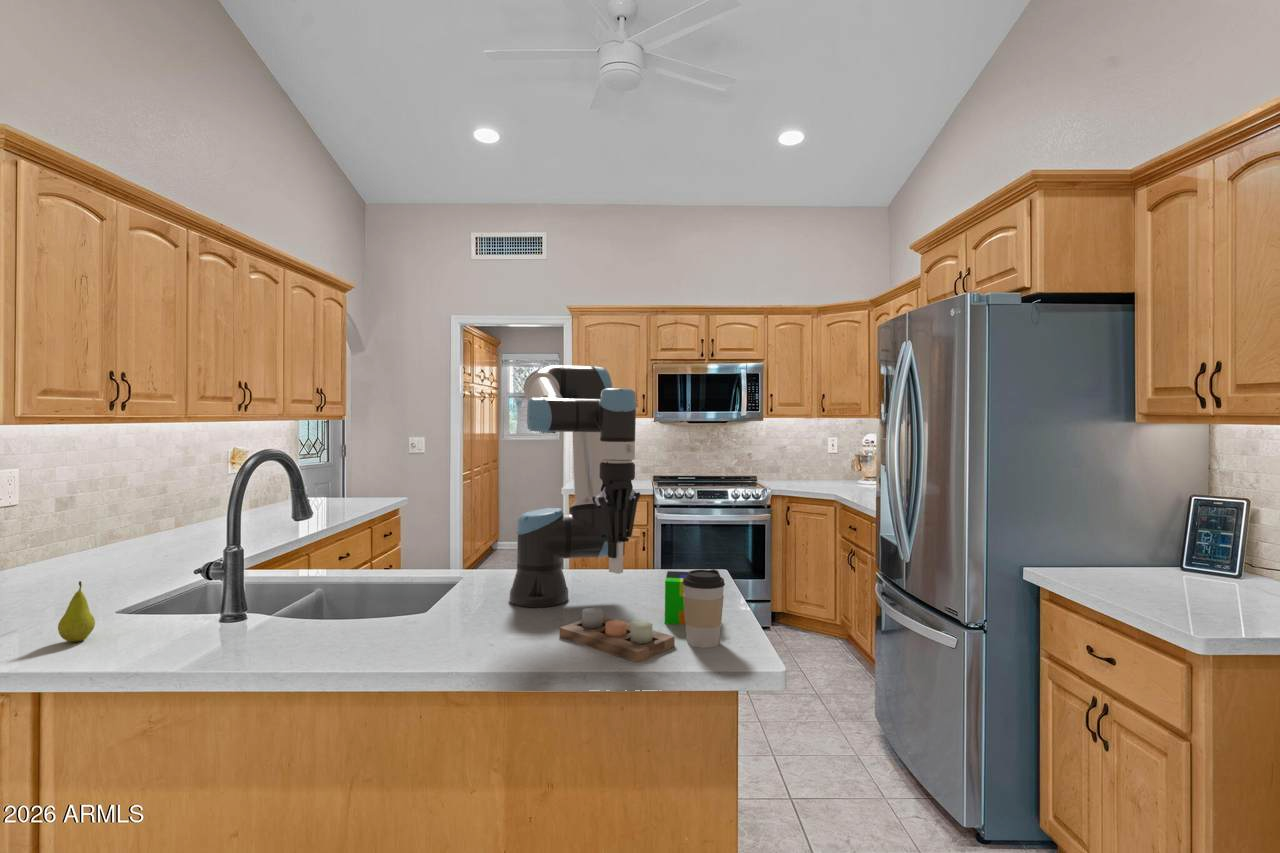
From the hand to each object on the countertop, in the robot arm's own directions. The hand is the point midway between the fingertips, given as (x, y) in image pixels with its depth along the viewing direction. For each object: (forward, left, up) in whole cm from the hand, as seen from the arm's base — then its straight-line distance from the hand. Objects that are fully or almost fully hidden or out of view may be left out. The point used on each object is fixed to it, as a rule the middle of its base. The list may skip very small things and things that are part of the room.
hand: (615, 572), depth 134 cm
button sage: (+7, 0, -13) cm, 15 cm away
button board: (0, 0, -15) cm, 15 cm away
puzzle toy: (+2, +23, -15) cm, 27 cm away
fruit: (-83, -74, -15) cm, 112 cm away
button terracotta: (0, 0, -14) cm, 14 cm away
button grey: (-7, 0, -13) cm, 14 cm away
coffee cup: (+14, +12, -15) cm, 24 cm away
